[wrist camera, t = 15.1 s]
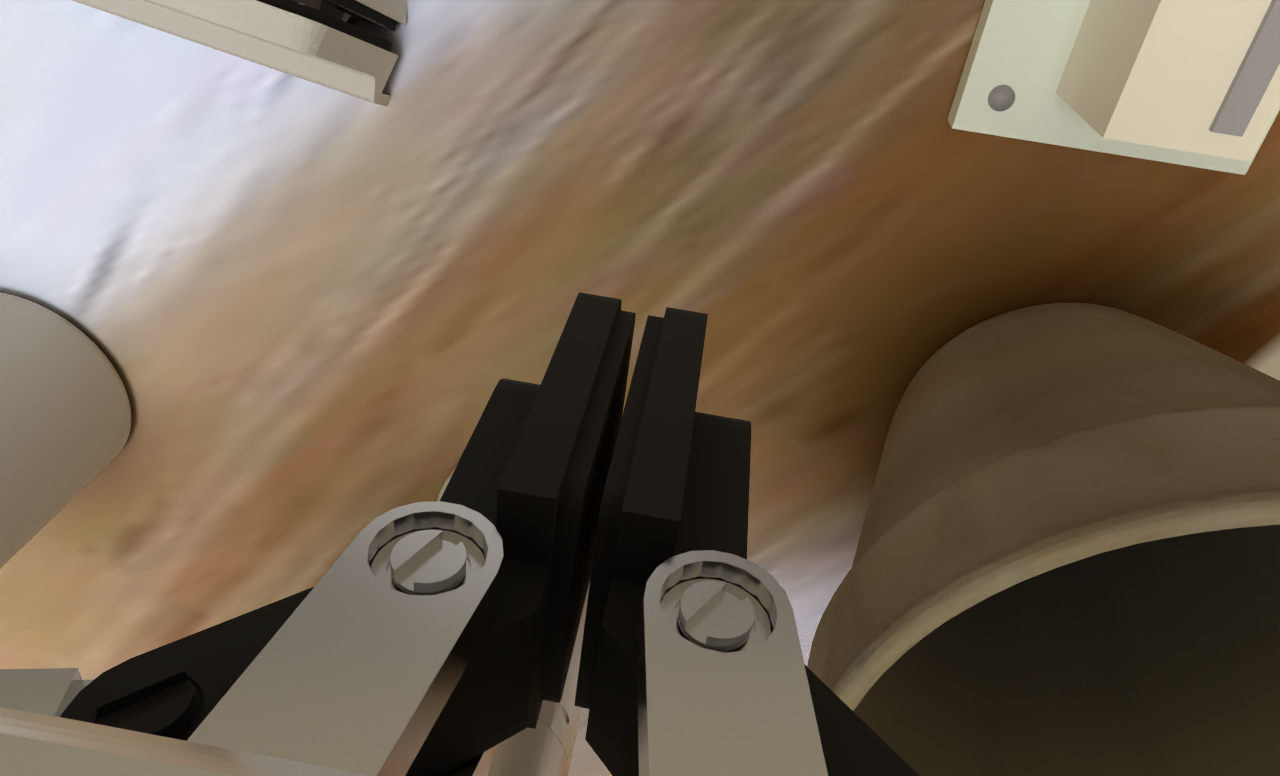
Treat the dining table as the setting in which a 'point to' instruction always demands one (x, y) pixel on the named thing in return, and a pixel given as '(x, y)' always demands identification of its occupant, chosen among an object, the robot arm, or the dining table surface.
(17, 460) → the cylinder vase
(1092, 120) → the cream module
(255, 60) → the off-white grooved curved block
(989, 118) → the panel
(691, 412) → the robot arm
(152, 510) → the dining table surface
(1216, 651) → the plant pot
